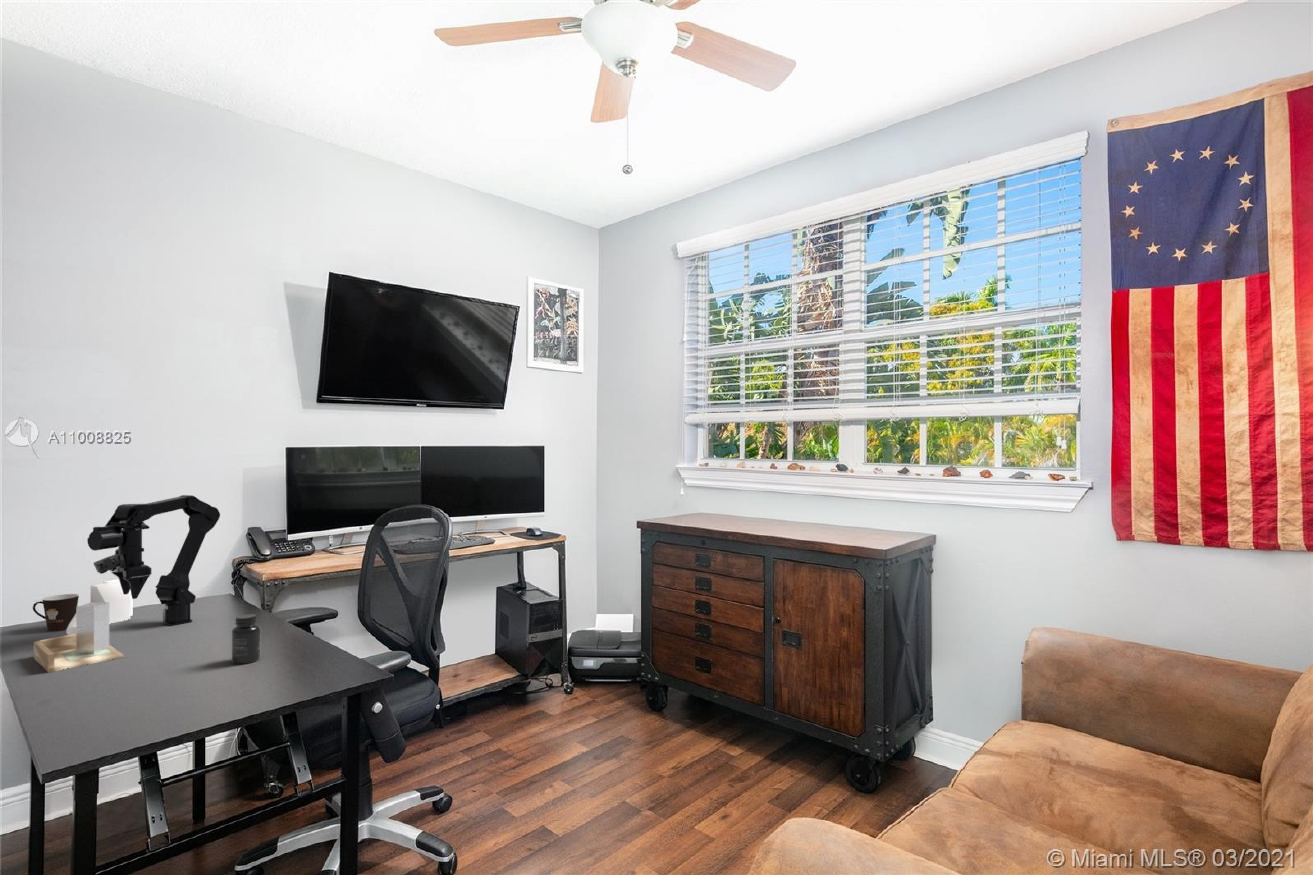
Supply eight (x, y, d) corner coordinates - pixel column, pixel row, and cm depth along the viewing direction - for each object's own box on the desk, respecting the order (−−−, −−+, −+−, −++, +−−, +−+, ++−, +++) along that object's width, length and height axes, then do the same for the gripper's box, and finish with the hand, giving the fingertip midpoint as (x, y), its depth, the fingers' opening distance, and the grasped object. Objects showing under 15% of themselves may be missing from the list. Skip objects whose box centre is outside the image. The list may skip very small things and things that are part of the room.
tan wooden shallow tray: (105, 644, 196) (105, 628, 196) (123, 657, 185) (123, 640, 185) (33, 657, 184) (33, 641, 184) (48, 672, 172) (48, 655, 172)
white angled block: (120, 613, 231) (120, 578, 231) (141, 616, 226) (141, 581, 226) (84, 621, 221) (84, 584, 221) (105, 624, 217) (105, 587, 217)
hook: (109, 616, 208) (101, 607, 203) (88, 654, 201) (78, 647, 195) (82, 612, 207) (73, 603, 201) (59, 650, 199) (49, 642, 194)
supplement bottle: (266, 658, 183) (266, 614, 183) (242, 666, 177) (242, 620, 177) (250, 655, 186) (250, 612, 186) (225, 662, 180) (225, 618, 180)
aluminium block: (92, 648, 190) (92, 602, 190) (109, 648, 190) (109, 602, 190) (76, 653, 185) (76, 606, 185) (93, 653, 185) (93, 606, 185)
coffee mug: (85, 626, 215) (85, 595, 215) (53, 633, 207) (53, 601, 207) (61, 623, 219) (61, 592, 219) (29, 630, 211) (29, 598, 211)
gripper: (88, 545, 204) (88, 596, 204) (105, 552, 193) (105, 606, 193) (133, 541, 213) (133, 590, 213) (152, 547, 201) (151, 599, 201)
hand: (130, 596), depth 205 cm, fingers open, 9 cm apart
